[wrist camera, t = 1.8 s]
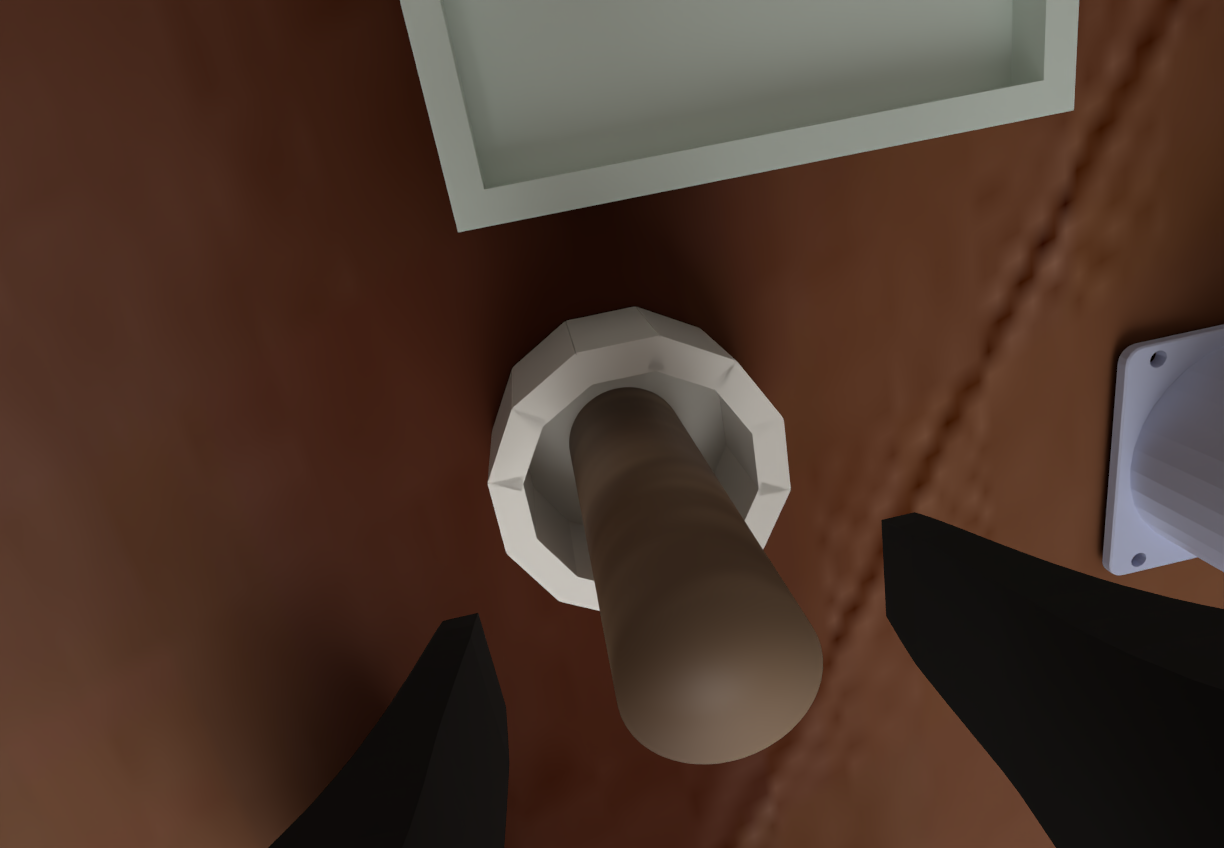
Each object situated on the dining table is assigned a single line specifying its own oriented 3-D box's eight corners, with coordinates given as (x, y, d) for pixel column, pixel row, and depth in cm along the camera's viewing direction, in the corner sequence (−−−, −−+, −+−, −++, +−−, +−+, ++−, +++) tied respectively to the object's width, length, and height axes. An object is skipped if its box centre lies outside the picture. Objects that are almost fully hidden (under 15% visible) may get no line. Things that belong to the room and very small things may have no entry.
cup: (729, 286, 20) (772, 311, 16) (757, 516, 22) (799, 578, 19) (468, 340, 19) (458, 377, 16) (527, 569, 22) (529, 640, 18)
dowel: (672, 376, 20) (814, 568, 10) (689, 479, 21) (829, 736, 12) (558, 400, 20) (597, 618, 10) (581, 504, 21) (635, 784, 11)
